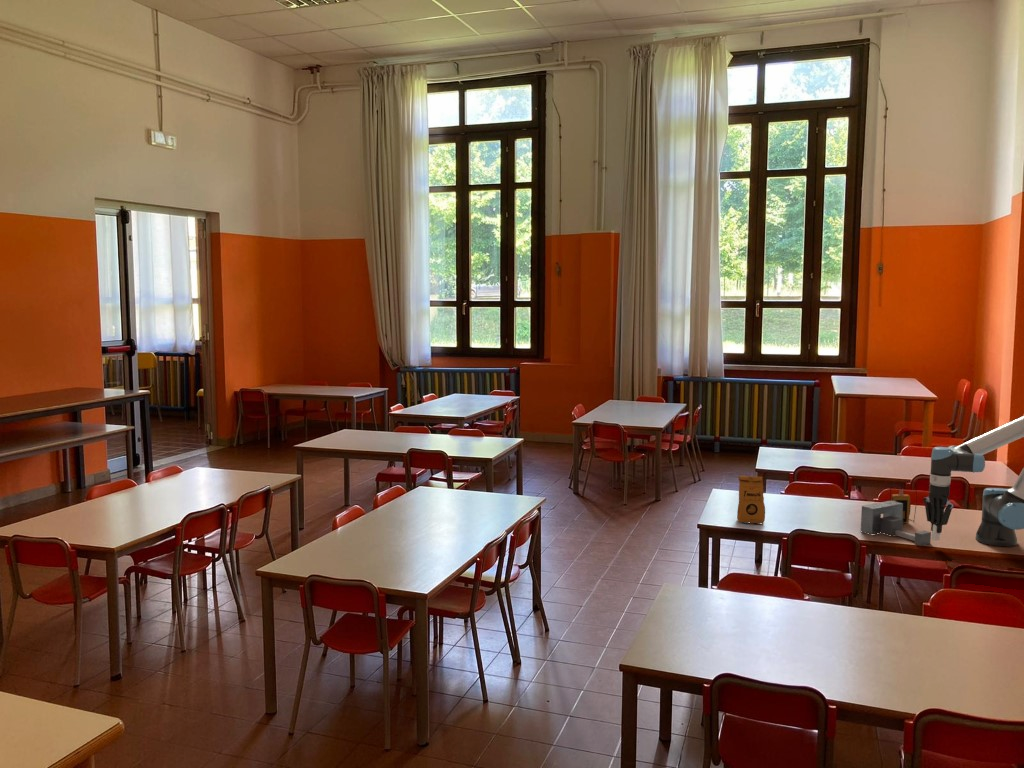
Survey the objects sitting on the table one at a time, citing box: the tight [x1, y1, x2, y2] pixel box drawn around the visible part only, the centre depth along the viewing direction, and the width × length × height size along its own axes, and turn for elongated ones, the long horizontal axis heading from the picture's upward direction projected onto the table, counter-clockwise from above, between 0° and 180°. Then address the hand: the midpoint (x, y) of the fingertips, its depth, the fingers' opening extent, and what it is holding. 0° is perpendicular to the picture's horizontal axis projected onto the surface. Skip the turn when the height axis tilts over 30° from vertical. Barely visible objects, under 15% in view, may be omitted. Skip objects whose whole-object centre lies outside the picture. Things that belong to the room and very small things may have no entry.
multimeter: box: [889, 480, 918, 524], centre depth 372 cm, size 15×10×20 cm
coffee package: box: [736, 475, 766, 524], centre depth 371 cm, size 10×12×22 cm
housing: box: [860, 499, 903, 535], centre depth 357 cm, size 6×19×12 cm, turn 116°
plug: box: [880, 516, 932, 547], centre depth 347 cm, size 20×7×7 cm, turn 26°
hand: (935, 539), depth 333 cm, fingers closed
